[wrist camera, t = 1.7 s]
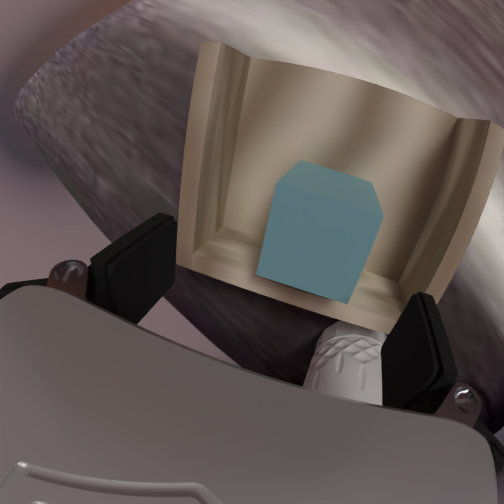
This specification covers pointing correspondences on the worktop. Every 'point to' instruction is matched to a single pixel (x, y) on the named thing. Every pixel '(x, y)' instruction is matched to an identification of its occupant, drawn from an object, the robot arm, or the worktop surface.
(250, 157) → the birch box
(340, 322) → the white cup
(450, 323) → the worktop surface
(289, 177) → the teal block
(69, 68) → the worktop surface
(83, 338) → the robot arm
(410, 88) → the worktop surface
